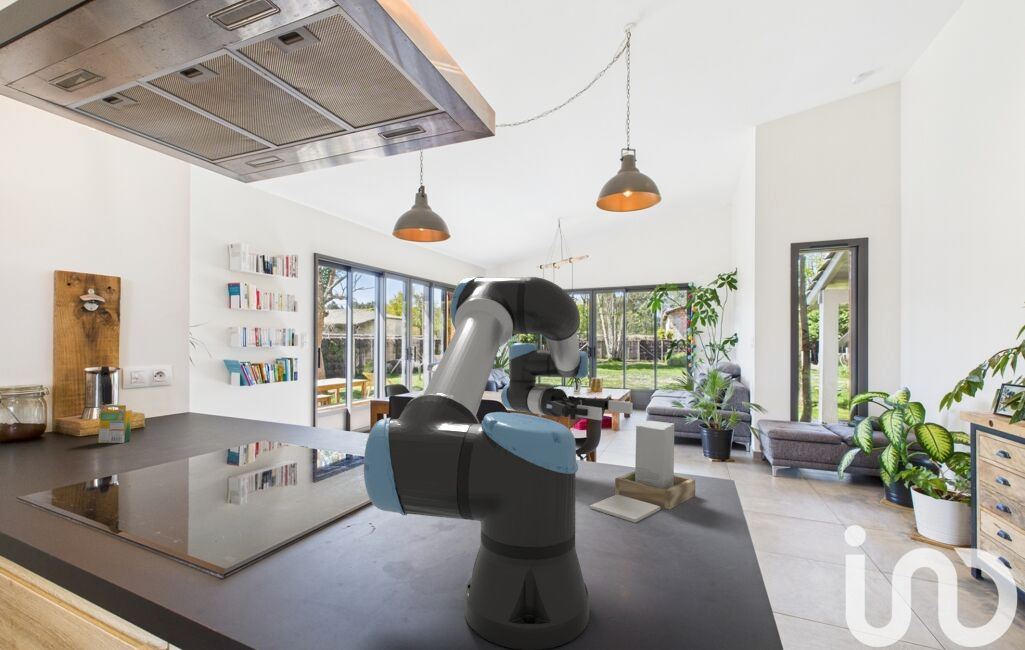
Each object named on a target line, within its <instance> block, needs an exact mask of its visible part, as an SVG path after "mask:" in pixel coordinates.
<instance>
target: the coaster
mask: <svg viewBox="0 0 1025 650" xmlns="http://www.w3.org/2000/svg"><path fill="white" fill-rule="evenodd" d="M589 507H590V509H592V510H594V511H597V512H599V513H600V512H601V513H604V514H606V515H610V516H613V517H616V518H620V519H623V520H625V521H629V522H632V523H638V522H639V521H641V520H643V519H646V518H647V517H649V516H651V515H653V514H655V513H657V512H658V511H660V510H662V509H661V508H662V507H661V506H657V505H654V504H650V503H647V502H643V501H639V500H636V499H632V498H629V497H625V496H621V495H618V494H617V495H615V494H614V495H612V496H609V497H607V498H605V499H603V500H600V501H598V502H595V503H593V504H590V506H589Z"/></svg>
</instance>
